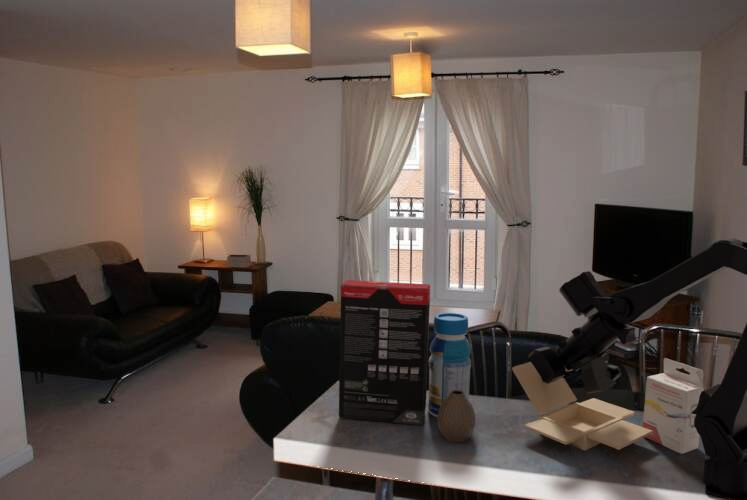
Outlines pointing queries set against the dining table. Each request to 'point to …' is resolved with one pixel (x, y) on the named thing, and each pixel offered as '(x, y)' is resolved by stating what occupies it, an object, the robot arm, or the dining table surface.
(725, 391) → the robot arm
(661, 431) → the ink cartridge box
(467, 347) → the beverage bottle
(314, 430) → the dining table surface
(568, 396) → the flap
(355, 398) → the graphics card box
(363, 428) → the dining table surface
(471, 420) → the vase
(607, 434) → the carton
